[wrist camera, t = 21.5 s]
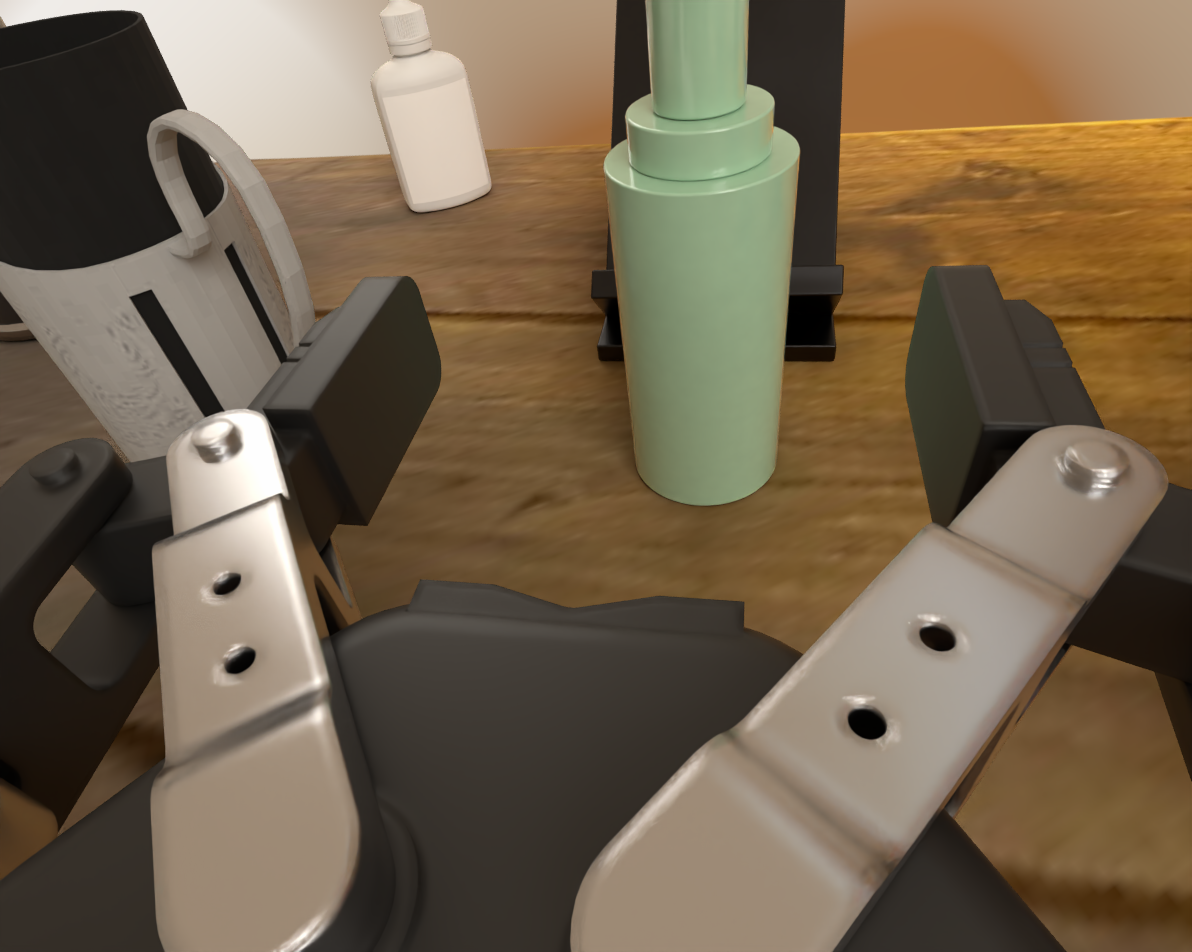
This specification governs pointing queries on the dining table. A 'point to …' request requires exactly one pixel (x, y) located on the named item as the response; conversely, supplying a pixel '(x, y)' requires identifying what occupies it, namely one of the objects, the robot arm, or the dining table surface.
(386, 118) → the eye dropper bottle
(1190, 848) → the dining table surface
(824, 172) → the cradle
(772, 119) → the bottle
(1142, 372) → the dining table surface
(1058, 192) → the dining table surface
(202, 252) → the glass holder
